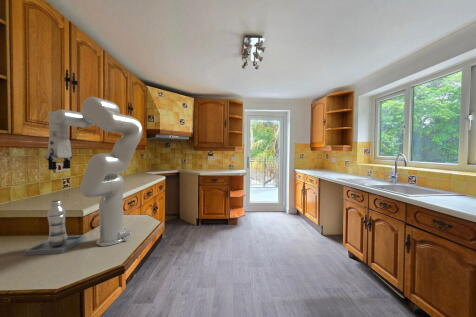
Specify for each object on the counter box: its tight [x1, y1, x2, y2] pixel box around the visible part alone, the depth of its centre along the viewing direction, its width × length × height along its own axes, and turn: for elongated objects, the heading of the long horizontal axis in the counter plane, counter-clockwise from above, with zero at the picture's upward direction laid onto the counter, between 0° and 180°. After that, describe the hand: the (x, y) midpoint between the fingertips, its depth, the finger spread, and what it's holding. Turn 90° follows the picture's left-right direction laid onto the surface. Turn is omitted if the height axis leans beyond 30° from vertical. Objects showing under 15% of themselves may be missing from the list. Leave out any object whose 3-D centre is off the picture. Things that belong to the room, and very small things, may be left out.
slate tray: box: [23, 235, 87, 257], centre depth 91 cm, size 15×15×2 cm
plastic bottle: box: [46, 199, 68, 246], centre depth 91 cm, size 6×7×20 cm
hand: (60, 169), depth 105 cm, fingers open, 9 cm apart
